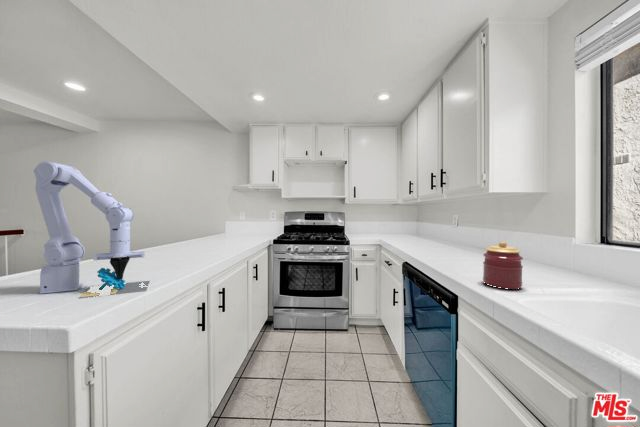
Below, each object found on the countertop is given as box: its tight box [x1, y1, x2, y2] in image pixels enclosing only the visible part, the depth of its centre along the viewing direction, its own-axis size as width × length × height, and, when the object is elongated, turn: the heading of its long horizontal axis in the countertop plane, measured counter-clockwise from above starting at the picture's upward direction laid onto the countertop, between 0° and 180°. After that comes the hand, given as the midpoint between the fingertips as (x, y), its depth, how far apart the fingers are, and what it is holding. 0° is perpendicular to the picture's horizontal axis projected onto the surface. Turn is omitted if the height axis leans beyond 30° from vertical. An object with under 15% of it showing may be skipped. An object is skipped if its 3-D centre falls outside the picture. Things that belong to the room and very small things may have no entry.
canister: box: [482, 240, 524, 289], centre depth 106 cm, size 13×13×18 cm
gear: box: [96, 267, 126, 290], centre depth 94 cm, size 11×6×10 cm
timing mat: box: [78, 280, 151, 300], centre depth 95 cm, size 18×15×1 cm
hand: (120, 278), depth 95 cm, fingers closed
